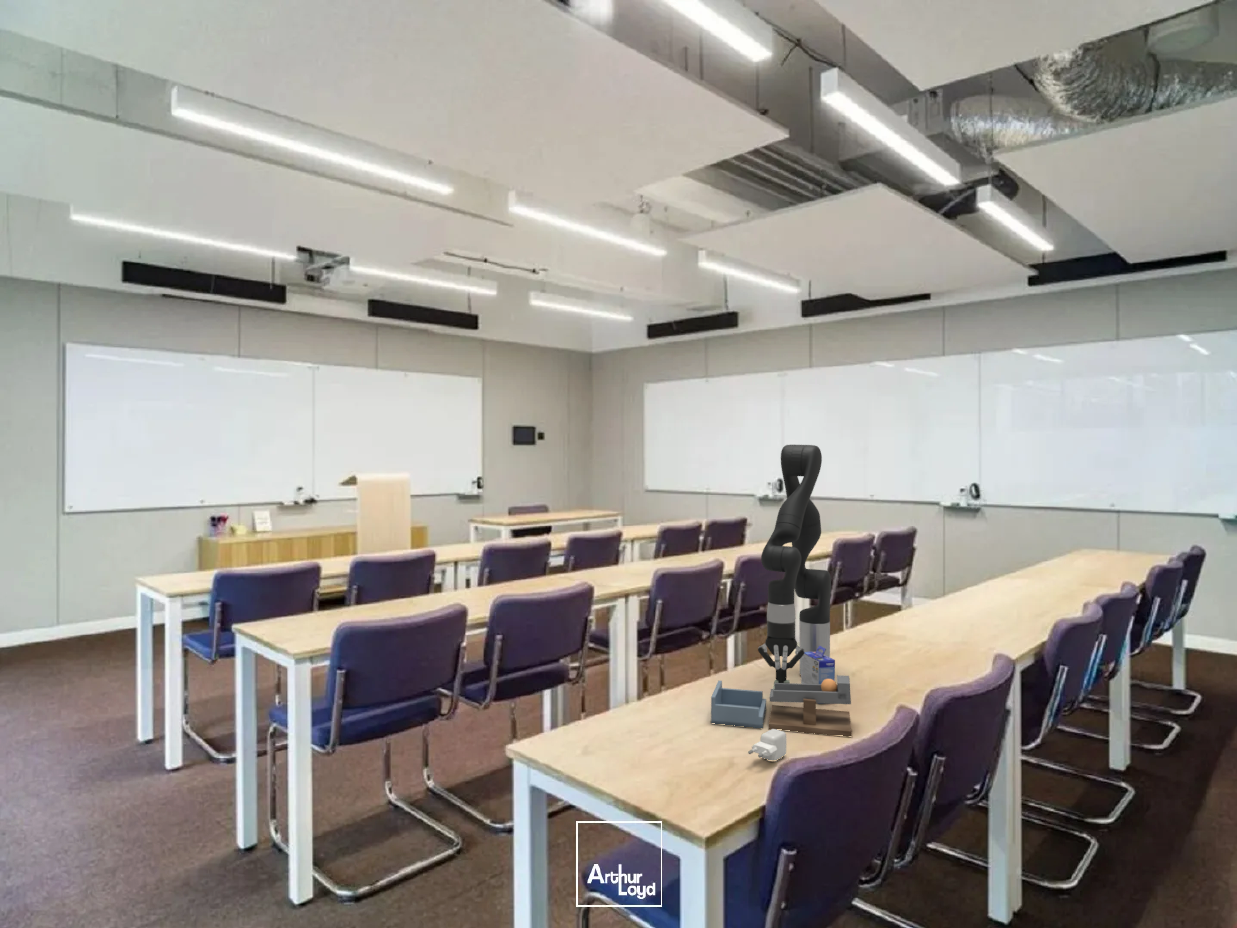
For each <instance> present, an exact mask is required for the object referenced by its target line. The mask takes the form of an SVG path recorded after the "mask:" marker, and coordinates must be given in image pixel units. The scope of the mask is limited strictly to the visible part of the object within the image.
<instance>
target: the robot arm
mask: <svg viewBox="0 0 1237 928" xmlns="http://www.w3.org/2000/svg"><path fill="white" fill-rule="evenodd" d="M821 451H822V450H821V449H820V447H819V446H818V445H814V444H786V445H784V446H783V447H782V449H781V451H780V468H781V473H782V479H783V483H784V489H785V494H786V499H785V500H784V501H783V503H782V504H781V506H780V508H779V510H778V513H777V517H776V521H775V524H774V528H773V531H772V534H771V535H770V537H769V539H768V540H767V542H766V544H765V545H764V548H763V549H762V553H761V557H760V558H761V560H760V562H761V565H762V567H763V568H764V569H765V570H767V571H770V572H778V573H779V572H780V573H785V574H784V577H782V578H780V579H774V580H770V581H769V582H768V585H767V609H766V633H767V634H766V639H765V641H764V643H763V644H762V645H759V646H758V648H757V651H758V653H759V654H760V655H761V657H762V658H763V659H764V661H765V662H766V664H767V665H768V666H769V667H770V668H774V669H775V680H776V681H778V683H784V681H786V680H788V679H787V678H788V677H787V676H788V675H787V671H788V669H792V668H794V667H795V665H797V663H799V675H800V674H801V672H802V656H803V655H804V652H816V651H817V649H818V647H819V646H821V647H823V648H825V649H826V651H825V653H824V655H826V656H828V657H830V658H831V592H832V577H831V574H830V572H829V571H828V570H826V569H815V568H814V569H813V568H806V562H807V559H808V557H809V555H810V554H811V552H812V550H813V549H814V548H815V546H816V545H817V543H818V542H819V540H820V539H821V534H822V524H821V523H822V522H821V515H820V511H819V510H818V508H817V506H816V505H815V503H814V502H813V501H812V499H810V498H811V496H812V494H813V492H814V488H815V486H816V484H817V480H818V478H819V475H820V472H821V468H822V467H821V466H822V461H823V457H822V452H821ZM799 477H803V478H802V480H801V481H800V480H799ZM786 544H791V546H788V545H787V546H785V545H786ZM795 594H796V596H797V597H798V598H801V599H809V600H818V603H817V604H816V605H814V606H811V607H808V608H803V609H802V610H800V611H799V617H798V618H799V620H798V622H799V625H798V626H799V632H798V633H799V645H798V642H797V640H796V619H797V618H796V605H795ZM768 650H769V652H770V653H771V655H772V656H774V659H772V657H771V656H770V654H769V652H768ZM793 652H794V654H795V655H794V656H793V657H792V658H791V660H789V661H788V657H790V656H791V655H792V653H793ZM819 652H821V653H823V650H822V649H819ZM781 657H782V658H781ZM781 659H782V662H781Z"/></svg>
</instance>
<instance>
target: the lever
mask: <svg viewBox="0 0 1237 928" xmlns="http://www.w3.org/2000/svg"><path fill="white" fill-rule="evenodd" d="M790 682H791V681H790V679H786V681H784V683H778V681H776V679H774V680H773V687H772V688H770V691H769V698H768V699H769V702H770V703H772V702H775V703H794V704H795V703H796V704H797V703H802V704H803V699H815V700H816V704H817V703H824V704H827V705H828V704H831V705H832V704H833V705H852V699H851V698H852V696H851V682H850V676H849V675H838V674H837V675H836V684H837V691H836V692H828V691H822V689H821V684H801V683H795V682H794V683H792V682H791V683H790Z"/></svg>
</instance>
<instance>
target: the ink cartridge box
mask: <svg viewBox="0 0 1237 928" xmlns="http://www.w3.org/2000/svg"><path fill="white" fill-rule="evenodd" d="M819 649H822V650H823V653H821V652H819ZM825 651H826V649H825V648H823V647H821V646H819V647H818V649H817V651H816V652H804V655H803V656H802V672H801V677H800V678H801V679H800V682H801V683H800V684H822V682H823V681H824V680H825V679H832V680H834V681H835V680H836V679H835V678H836V659H835V658H832V657H831V656H830V657H828V656H826V655H824V653H825ZM835 682H836V681H835ZM817 704H818V705H820V704H821V705H823V704H825V703H816V705H817Z"/></svg>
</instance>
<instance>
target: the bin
mask: <svg viewBox="0 0 1237 928" xmlns="http://www.w3.org/2000/svg"><path fill="white" fill-rule="evenodd" d="M763 695H764V694H763V691H762V690H751V689H739V688H738V689H737V688H728V687H723V680H717V682H716V686H715V688H714V690H713V692H712V695H711V697H710V703H711V704H710V711H711V713H710V715H711V716H710V717H711V719H710V720H711V721H710V723H715V724H725V725H733V726H732V727H736V726H744V727H743V728H746V727H753V728H752V729H757V728H764V724H763V723H765V718H766V714H767V698H764V697H763ZM715 724H714V725H715ZM725 725H724V726H725ZM734 725H735V726H734Z"/></svg>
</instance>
